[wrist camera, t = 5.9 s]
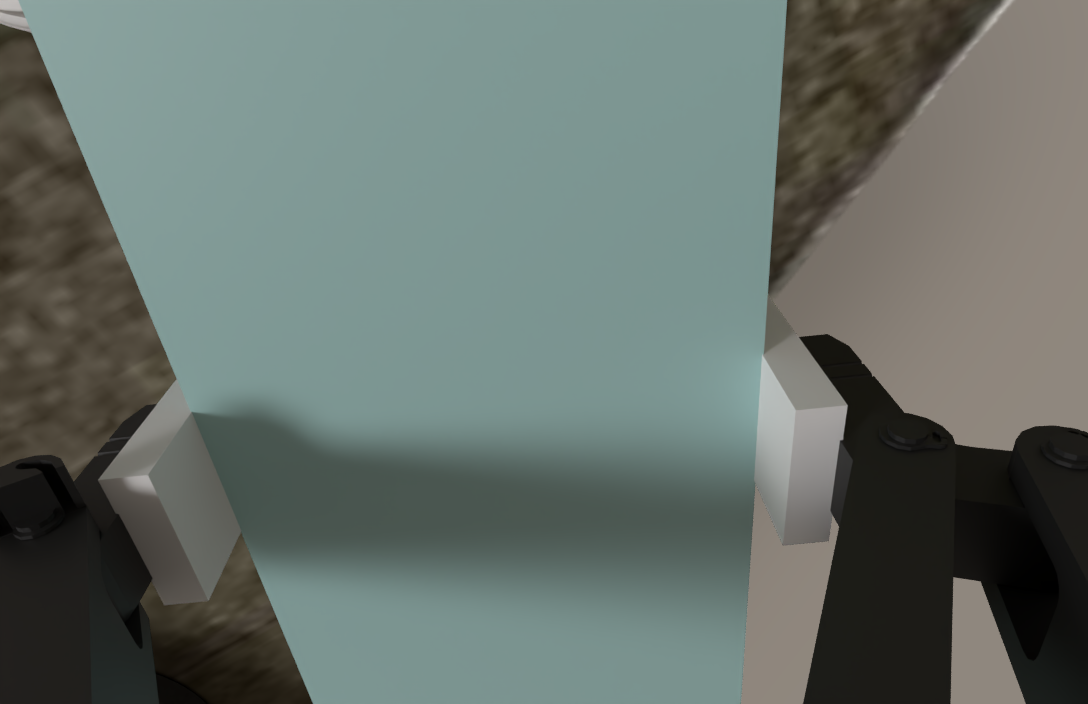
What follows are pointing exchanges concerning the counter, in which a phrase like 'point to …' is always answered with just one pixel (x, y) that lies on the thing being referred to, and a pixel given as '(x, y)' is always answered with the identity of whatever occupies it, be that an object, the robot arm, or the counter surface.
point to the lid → (458, 318)
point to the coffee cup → (13, 15)
